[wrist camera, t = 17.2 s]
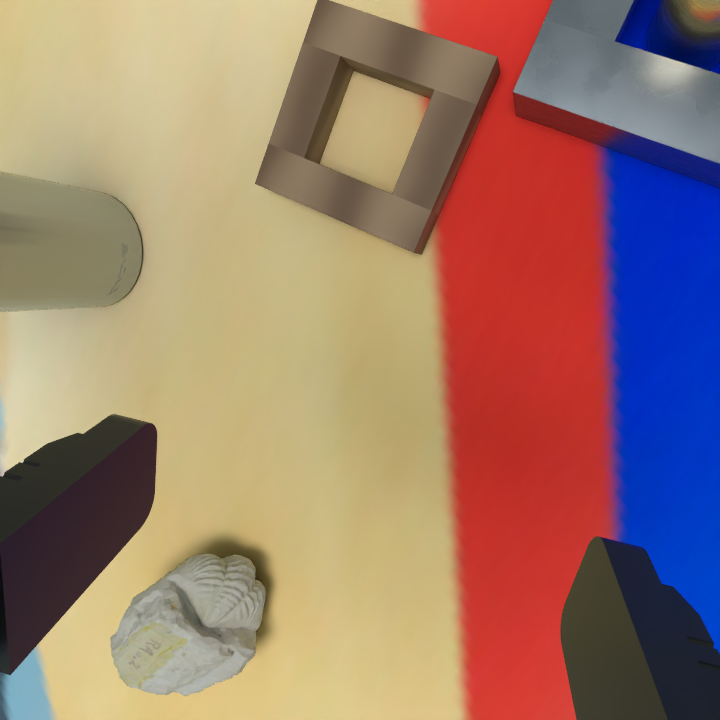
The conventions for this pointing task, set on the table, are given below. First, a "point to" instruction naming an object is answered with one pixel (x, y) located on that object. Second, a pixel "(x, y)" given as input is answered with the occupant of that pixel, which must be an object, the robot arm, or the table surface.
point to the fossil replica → (191, 626)
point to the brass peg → (686, 32)
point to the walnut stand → (400, 68)
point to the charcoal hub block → (620, 91)
